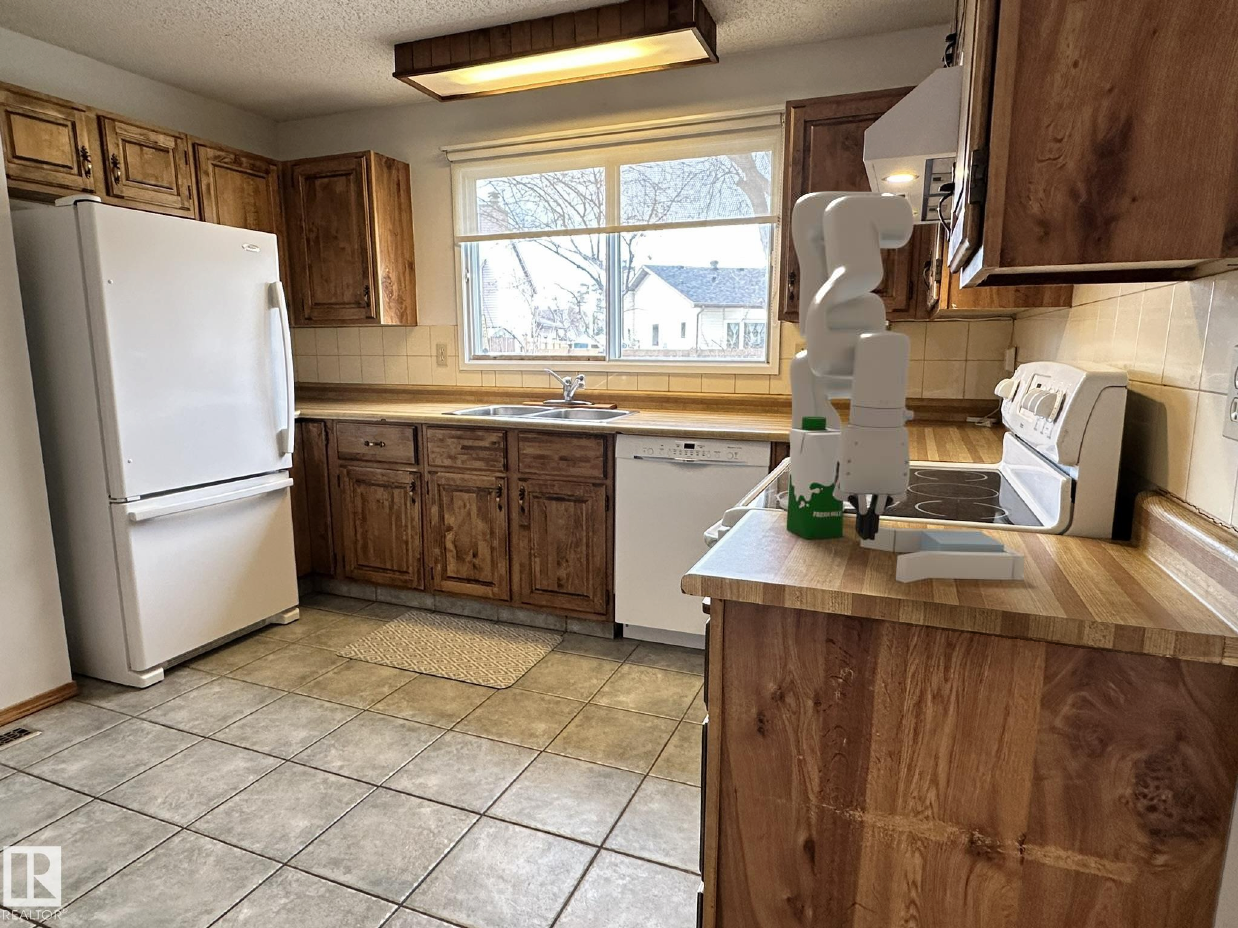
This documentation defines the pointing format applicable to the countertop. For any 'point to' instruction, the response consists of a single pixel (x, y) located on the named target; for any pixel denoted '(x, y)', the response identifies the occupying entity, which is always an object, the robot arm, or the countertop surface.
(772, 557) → the countertop surface
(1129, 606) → the countertop surface
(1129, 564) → the countertop surface
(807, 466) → the milk carton
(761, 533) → the countertop surface
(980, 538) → the grey boxy piece
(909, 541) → the bay
